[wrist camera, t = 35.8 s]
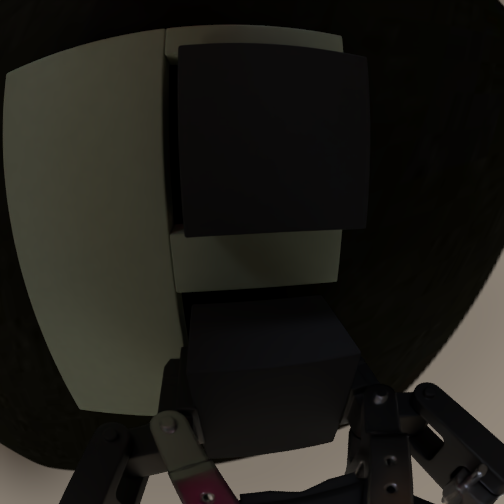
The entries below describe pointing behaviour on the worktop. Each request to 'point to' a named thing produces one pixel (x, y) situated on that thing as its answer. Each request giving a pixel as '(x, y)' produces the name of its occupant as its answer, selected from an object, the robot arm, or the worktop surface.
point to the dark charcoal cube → (272, 139)
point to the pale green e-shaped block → (126, 212)
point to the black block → (268, 374)
